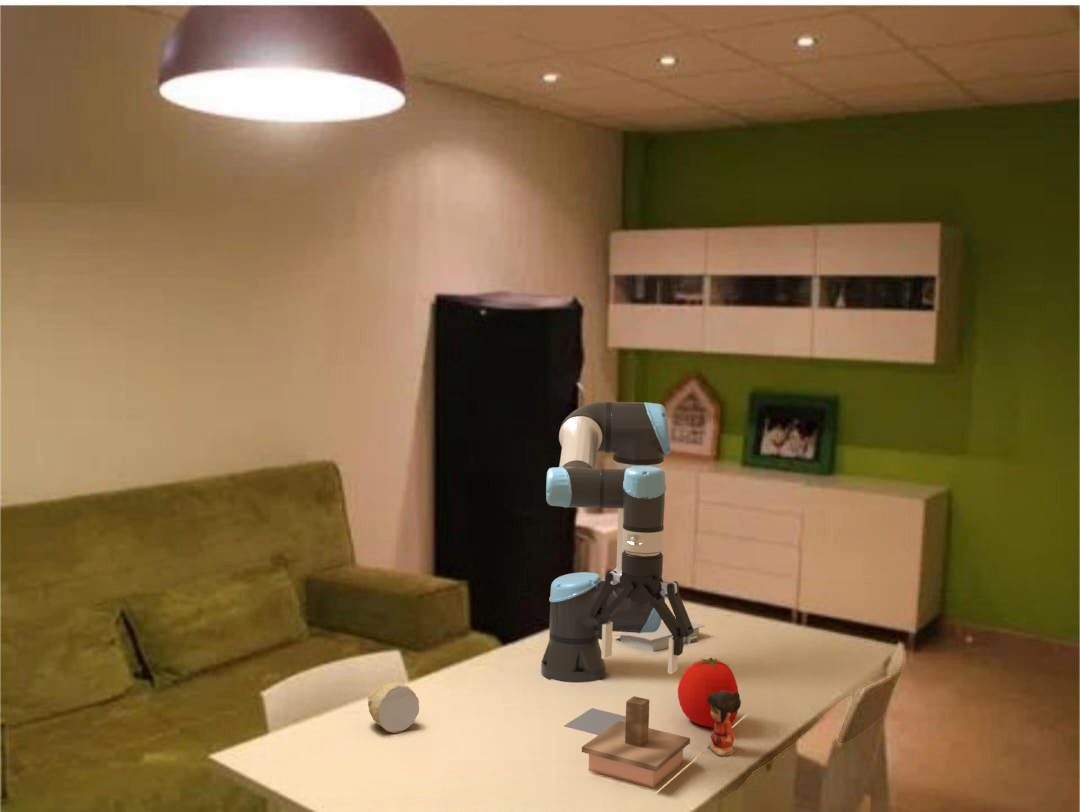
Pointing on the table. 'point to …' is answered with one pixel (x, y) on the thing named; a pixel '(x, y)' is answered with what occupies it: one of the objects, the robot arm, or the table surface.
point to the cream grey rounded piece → (393, 706)
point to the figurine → (723, 721)
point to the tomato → (704, 689)
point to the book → (656, 637)
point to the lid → (636, 740)
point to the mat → (595, 721)
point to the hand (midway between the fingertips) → (639, 664)
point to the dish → (633, 770)
